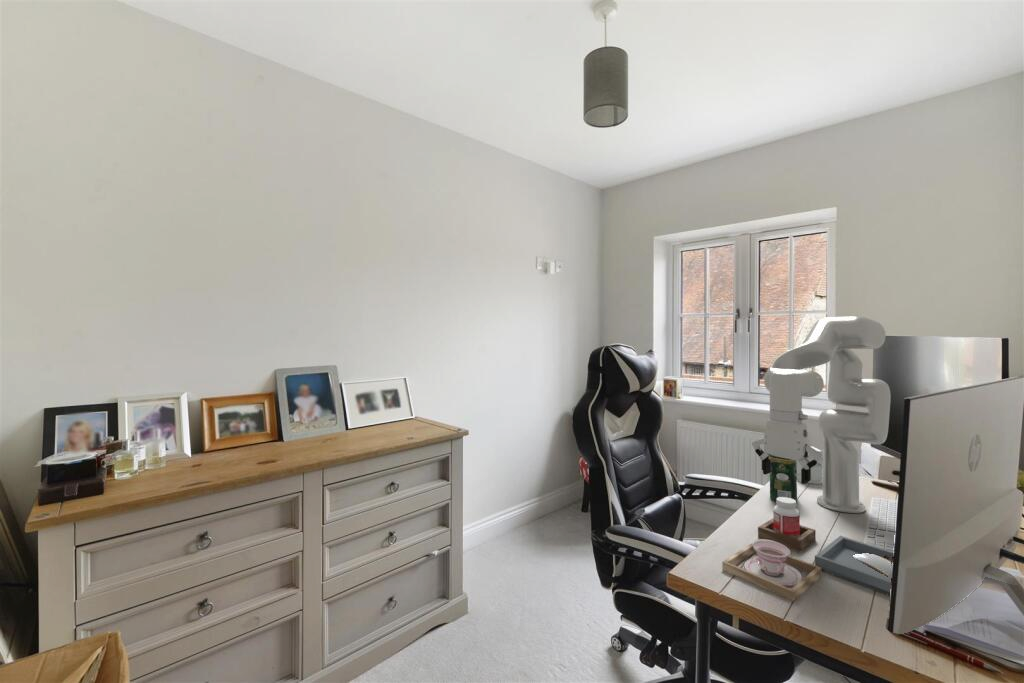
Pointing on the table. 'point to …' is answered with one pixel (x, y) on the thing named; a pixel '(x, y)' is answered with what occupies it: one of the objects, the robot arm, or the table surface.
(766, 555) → the teacup
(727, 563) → the light wooden frame
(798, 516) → the pill bottle
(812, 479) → the supplement box
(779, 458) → the coffee jar
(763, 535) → the walnut collar
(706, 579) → the table surface
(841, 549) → the slate tray
